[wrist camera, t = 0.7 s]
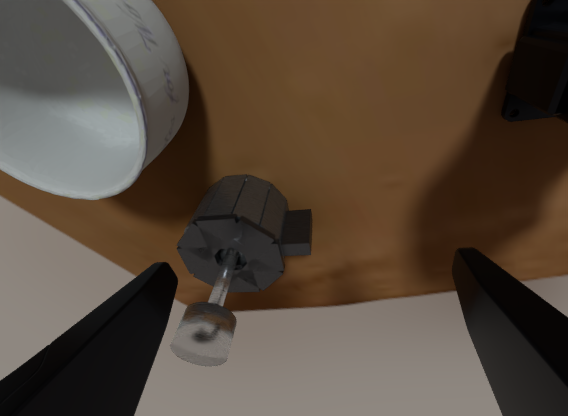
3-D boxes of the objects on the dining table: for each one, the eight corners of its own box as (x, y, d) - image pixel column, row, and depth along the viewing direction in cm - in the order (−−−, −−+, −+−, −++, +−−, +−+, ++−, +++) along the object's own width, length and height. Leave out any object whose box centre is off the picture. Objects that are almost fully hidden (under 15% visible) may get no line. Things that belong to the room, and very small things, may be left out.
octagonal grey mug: (306, 168, 21) (302, 214, 17) (316, 239, 26) (315, 290, 21) (193, 179, 23) (163, 223, 19) (219, 244, 27) (200, 292, 23)
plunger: (258, 219, 20) (228, 328, 13) (271, 265, 22) (251, 374, 16) (196, 223, 20) (139, 327, 14) (216, 267, 23) (175, 371, 17)
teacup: (219, 142, 21) (174, 208, 15) (82, 141, 22) (-14, 202, 16) (162, -157, 13) (-2, -307, 6) (-52, -131, 14) (-372, -236, 7)
